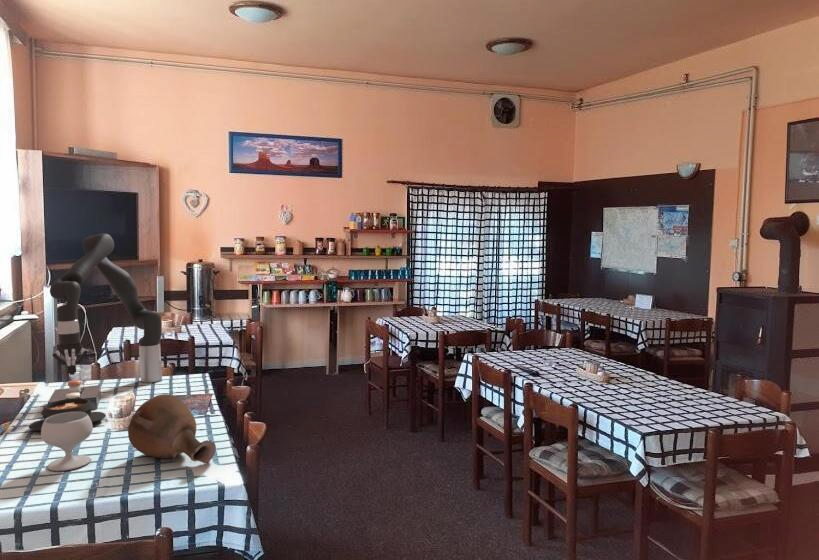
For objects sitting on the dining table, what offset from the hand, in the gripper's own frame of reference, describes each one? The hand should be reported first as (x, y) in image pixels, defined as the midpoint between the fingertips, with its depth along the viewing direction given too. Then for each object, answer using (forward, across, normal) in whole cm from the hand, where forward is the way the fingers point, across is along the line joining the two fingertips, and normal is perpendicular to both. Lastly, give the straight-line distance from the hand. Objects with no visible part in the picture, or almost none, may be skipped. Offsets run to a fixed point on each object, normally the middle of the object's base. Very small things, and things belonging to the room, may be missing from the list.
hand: (72, 374), depth 248 cm
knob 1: (+14, 0, 0) cm, 14 cm away
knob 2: (+14, 0, -14) cm, 20 cm away
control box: (+14, 0, -7) cm, 16 cm away
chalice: (+14, -5, +63) cm, 65 cm away
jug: (+15, -35, +71) cm, 81 cm away
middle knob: (+10, 0, -7) cm, 13 cm away
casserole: (+15, 0, +21) cm, 26 cm away
